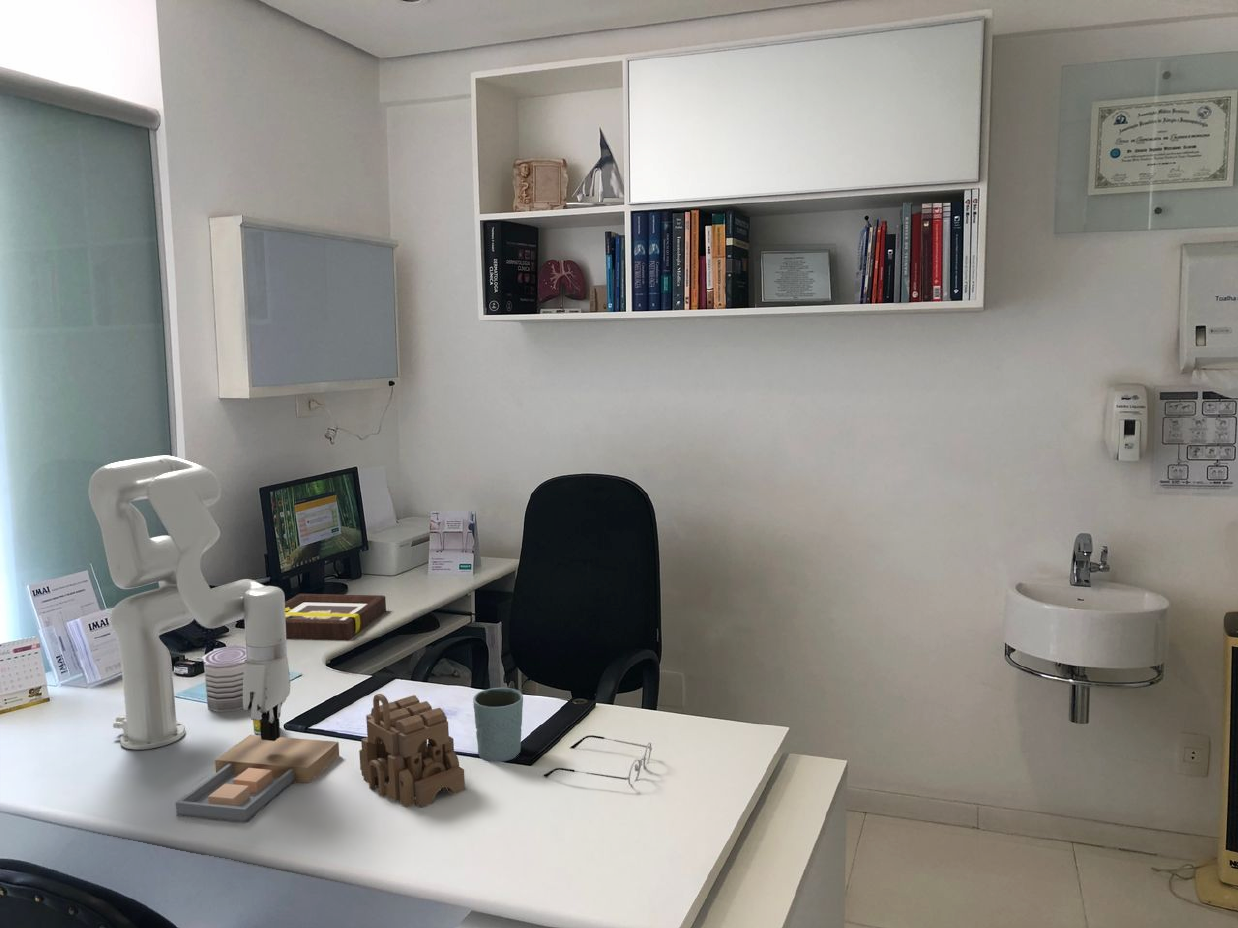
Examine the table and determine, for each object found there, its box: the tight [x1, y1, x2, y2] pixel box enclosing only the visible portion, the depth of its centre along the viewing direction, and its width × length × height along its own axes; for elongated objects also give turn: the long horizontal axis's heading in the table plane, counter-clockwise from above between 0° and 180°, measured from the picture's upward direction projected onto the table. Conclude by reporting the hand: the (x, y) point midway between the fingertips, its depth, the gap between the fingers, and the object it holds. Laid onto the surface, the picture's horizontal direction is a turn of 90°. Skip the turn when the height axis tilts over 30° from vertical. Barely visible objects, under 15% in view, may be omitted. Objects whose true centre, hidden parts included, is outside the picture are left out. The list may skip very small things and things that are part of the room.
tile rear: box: [233, 768, 273, 793], centre depth 186 cm, size 5×5×2 cm
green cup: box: [472, 687, 524, 763], centre depth 198 cm, size 10×10×12 cm
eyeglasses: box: [543, 735, 653, 786], centre depth 191 cm, size 16×19×5 cm
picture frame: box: [285, 593, 387, 641], centre depth 288 cm, size 28×7×30 cm
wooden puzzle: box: [358, 693, 466, 808], centre depth 187 cm, size 22×15×19 cm, turn 43°
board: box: [214, 734, 340, 784], centre depth 195 cm, size 20×12×3 cm, turn 78°
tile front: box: [208, 784, 250, 806], centre depth 179 cm, size 5×5×2 cm
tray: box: [174, 764, 296, 824], centre depth 182 cm, size 14×16×2 cm
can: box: [201, 644, 247, 713], centre depth 228 cm, size 11×11×12 cm
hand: (270, 738), depth 194 cm, fingers closed
